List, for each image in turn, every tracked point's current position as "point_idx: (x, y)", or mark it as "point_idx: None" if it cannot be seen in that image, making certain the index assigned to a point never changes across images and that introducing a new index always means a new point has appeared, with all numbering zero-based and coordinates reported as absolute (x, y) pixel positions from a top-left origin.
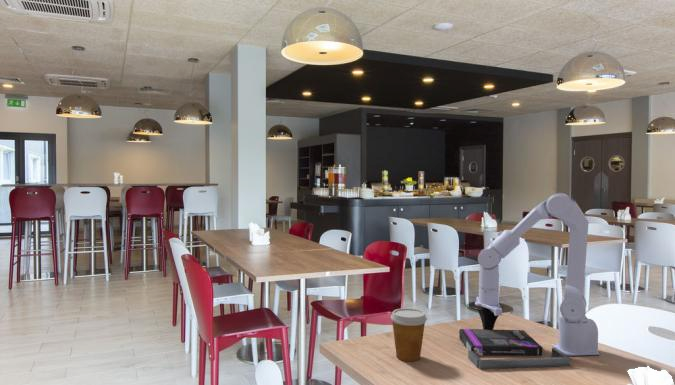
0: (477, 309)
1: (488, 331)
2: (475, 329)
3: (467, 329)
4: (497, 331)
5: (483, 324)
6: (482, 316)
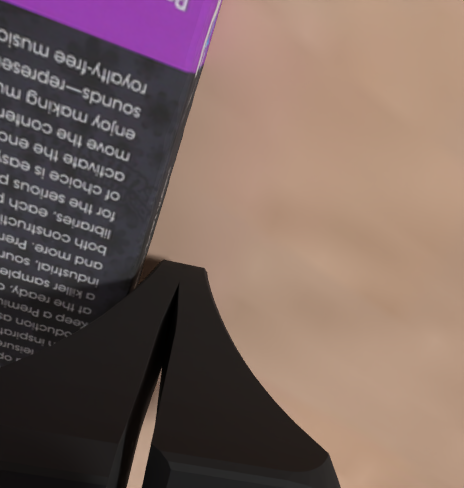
0: (285, 468)
1: (41, 257)
2: (150, 145)
3: (181, 14)
4: (30, 342)
5: (176, 306)
6: (112, 372)
